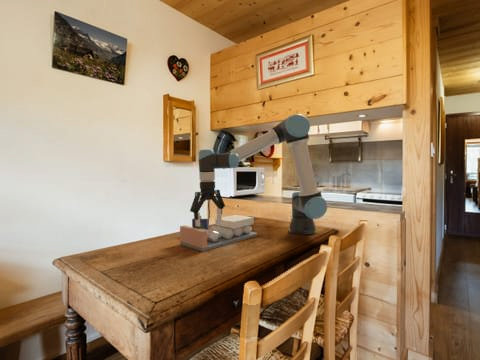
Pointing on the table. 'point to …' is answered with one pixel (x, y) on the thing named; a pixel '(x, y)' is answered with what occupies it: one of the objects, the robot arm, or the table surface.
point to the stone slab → (235, 221)
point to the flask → (202, 223)
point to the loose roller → (213, 235)
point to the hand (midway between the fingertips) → (209, 223)
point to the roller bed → (199, 241)
